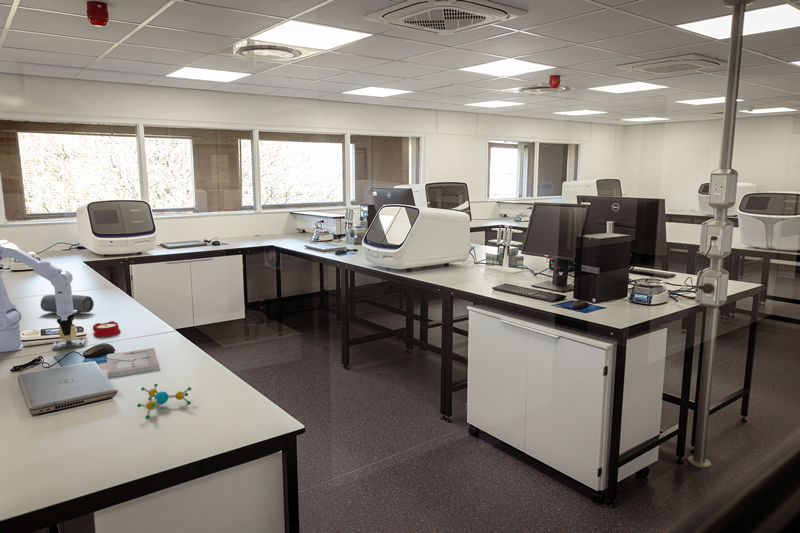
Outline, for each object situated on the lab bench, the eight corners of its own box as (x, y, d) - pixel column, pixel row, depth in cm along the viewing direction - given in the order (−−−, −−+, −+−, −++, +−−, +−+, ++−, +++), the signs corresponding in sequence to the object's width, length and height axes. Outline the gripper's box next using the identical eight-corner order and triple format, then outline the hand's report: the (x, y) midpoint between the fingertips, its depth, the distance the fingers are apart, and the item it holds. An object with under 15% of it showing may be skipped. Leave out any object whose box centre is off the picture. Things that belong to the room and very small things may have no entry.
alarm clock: (95, 331, 220) (89, 316, 231) (96, 344, 223) (90, 329, 233) (122, 327, 227) (115, 313, 238) (123, 339, 229) (116, 325, 240)
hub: (59, 340, 208) (58, 328, 207) (60, 336, 213) (59, 325, 212) (75, 338, 211) (74, 326, 210) (76, 334, 215) (75, 323, 215)
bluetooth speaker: (95, 312, 265) (93, 293, 263) (82, 317, 256) (80, 297, 254) (54, 310, 267) (52, 292, 266) (40, 315, 258) (38, 296, 256)
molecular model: (197, 404, 159) (174, 391, 169) (196, 389, 158) (173, 377, 168) (144, 423, 147) (121, 408, 156) (142, 406, 146) (120, 392, 155)
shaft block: (52, 350, 206) (50, 337, 205) (54, 344, 213) (52, 332, 212) (84, 346, 211) (82, 333, 210) (85, 341, 218) (83, 328, 217)
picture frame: (107, 360, 198) (107, 379, 179) (106, 354, 197) (107, 372, 179) (154, 353, 206) (159, 370, 187) (154, 347, 205) (159, 364, 187)
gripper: (74, 303, 205) (77, 336, 207) (77, 296, 217) (80, 327, 220) (53, 305, 201) (57, 339, 204) (57, 298, 214) (60, 329, 216)
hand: (67, 333), depth 211 cm, fingers closed on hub, 6 cm apart
